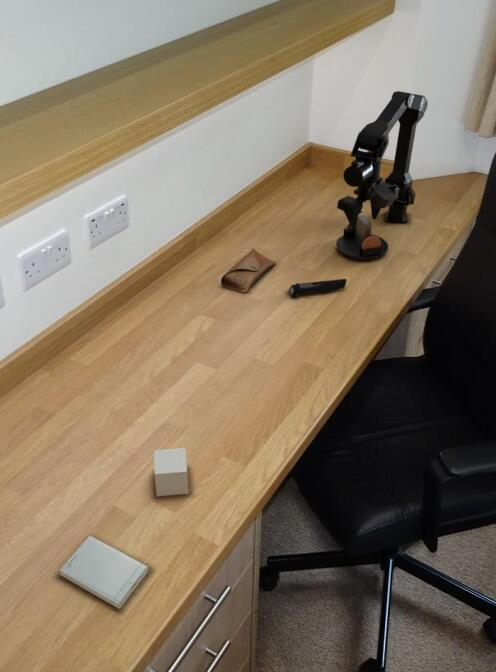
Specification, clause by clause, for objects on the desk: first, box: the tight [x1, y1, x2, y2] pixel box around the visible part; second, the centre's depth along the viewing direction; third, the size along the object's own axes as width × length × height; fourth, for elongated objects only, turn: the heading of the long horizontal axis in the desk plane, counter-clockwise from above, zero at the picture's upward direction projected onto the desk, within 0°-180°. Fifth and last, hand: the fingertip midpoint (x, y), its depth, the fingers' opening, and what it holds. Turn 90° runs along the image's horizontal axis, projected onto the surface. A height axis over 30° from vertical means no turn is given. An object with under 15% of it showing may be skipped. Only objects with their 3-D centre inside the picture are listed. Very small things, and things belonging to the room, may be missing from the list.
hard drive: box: [59, 535, 149, 610], centre depth 118 cm, size 2×8×12 cm
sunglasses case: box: [220, 247, 276, 293], centre depth 196 cm, size 18×7×7 cm
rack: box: [335, 214, 389, 260], centre depth 204 cm, size 15×15×9 cm
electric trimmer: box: [288, 278, 347, 298], centre depth 188 cm, size 4×16×3 cm, turn 100°
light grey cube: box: [153, 447, 189, 497], centre depth 133 cm, size 6×6×6 cm
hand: (364, 224), depth 202 cm, fingers open, 9 cm apart
